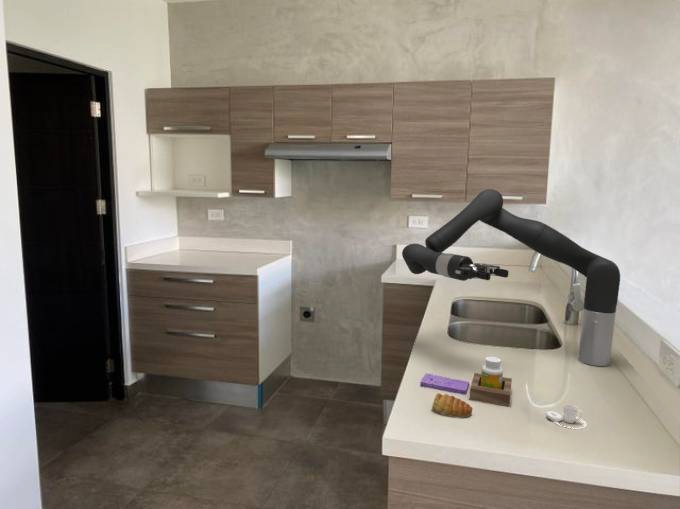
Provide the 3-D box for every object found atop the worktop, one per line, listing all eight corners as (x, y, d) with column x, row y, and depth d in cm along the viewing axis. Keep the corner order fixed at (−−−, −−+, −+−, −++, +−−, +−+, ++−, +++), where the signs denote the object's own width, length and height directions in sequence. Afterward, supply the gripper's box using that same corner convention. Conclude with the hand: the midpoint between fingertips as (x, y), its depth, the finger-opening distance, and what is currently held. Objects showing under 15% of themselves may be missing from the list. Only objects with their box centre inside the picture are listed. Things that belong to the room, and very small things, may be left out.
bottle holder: (473, 382, 145) (474, 372, 145) (510, 388, 142) (511, 378, 141) (469, 399, 134) (470, 388, 134) (509, 406, 131) (510, 395, 130)
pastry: (474, 410, 128) (475, 396, 127) (468, 422, 122) (470, 407, 121) (436, 402, 132) (437, 388, 131) (429, 413, 126) (430, 399, 125)
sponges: (425, 379, 148) (425, 372, 148) (469, 387, 143) (470, 380, 143) (419, 387, 142) (419, 381, 141) (465, 396, 137) (466, 390, 137)
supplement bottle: (476, 394, 138) (479, 359, 136) (484, 388, 142) (487, 354, 140) (496, 400, 134) (499, 364, 133) (503, 393, 139) (506, 359, 137)
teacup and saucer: (541, 420, 124) (543, 405, 124) (555, 411, 130) (557, 396, 129) (578, 434, 118) (580, 417, 118) (591, 423, 124) (593, 407, 123)
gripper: (439, 256, 154) (484, 264, 142) (469, 253, 163) (514, 260, 151) (438, 280, 156) (482, 290, 143) (467, 276, 164) (512, 285, 152)
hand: (498, 275), depth 147 cm, fingers open, 8 cm apart
